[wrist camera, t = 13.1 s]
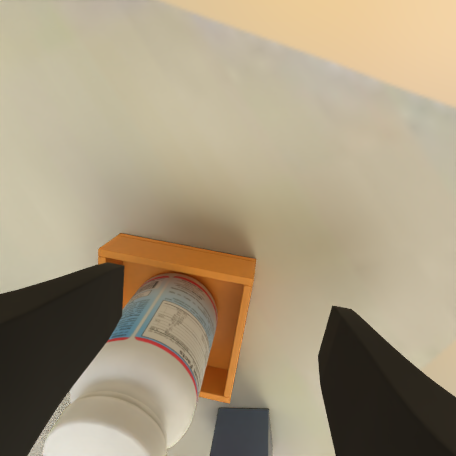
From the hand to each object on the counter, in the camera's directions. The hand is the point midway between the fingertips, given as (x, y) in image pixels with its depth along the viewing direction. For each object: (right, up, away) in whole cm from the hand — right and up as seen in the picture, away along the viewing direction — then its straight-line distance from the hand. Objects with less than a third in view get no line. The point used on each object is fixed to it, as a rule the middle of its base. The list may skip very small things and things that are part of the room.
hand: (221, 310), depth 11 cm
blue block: (+2, -13, +15) cm, 20 cm away
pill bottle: (-3, -3, +12) cm, 13 cm away
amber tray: (-3, -3, +12) cm, 13 cm away
